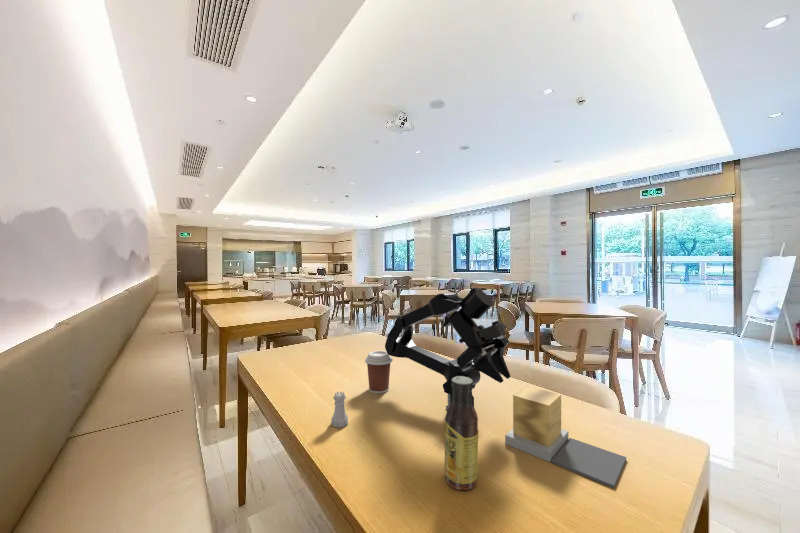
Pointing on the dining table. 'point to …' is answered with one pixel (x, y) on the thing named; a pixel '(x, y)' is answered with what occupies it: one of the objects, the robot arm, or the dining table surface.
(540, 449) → the block
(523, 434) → the ochre block
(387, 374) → the coffee cup
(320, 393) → the dining table surface
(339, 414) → the rook chess piece
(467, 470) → the sauce bottle
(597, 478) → the rubber pad
